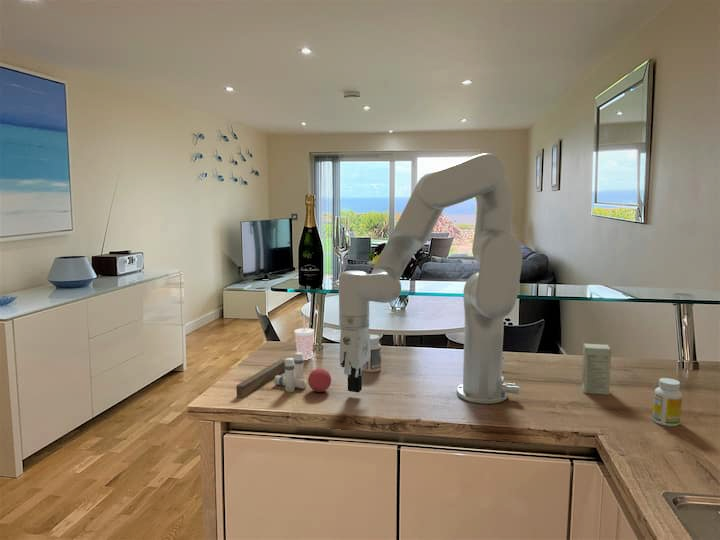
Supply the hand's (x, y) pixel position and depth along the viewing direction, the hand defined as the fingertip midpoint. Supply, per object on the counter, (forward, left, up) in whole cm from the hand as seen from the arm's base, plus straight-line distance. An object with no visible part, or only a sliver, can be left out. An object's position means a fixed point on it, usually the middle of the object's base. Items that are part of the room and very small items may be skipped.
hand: (354, 390), depth 131 cm
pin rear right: (+17, -2, -2) cm, 18 cm away
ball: (+10, 0, +2) cm, 10 cm away
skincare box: (-57, -25, -2) cm, 62 cm away
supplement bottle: (-71, -11, -2) cm, 72 cm away
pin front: (+14, 0, 0) cm, 14 cm away
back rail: (+27, 0, -2) cm, 27 cm away
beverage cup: (+26, -22, -2) cm, 34 cm away
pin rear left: (+17, +3, -2) cm, 18 cm away
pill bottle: (+3, -20, -2) cm, 21 cm away
